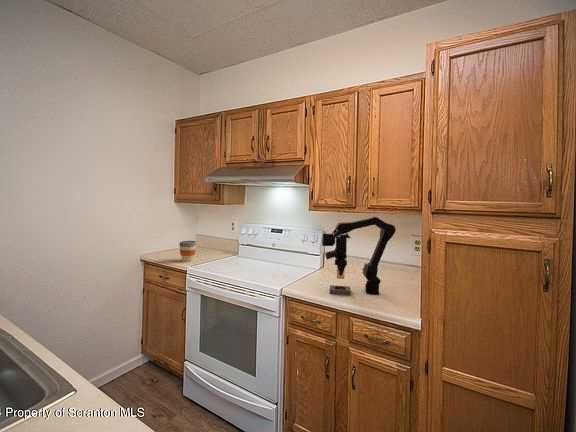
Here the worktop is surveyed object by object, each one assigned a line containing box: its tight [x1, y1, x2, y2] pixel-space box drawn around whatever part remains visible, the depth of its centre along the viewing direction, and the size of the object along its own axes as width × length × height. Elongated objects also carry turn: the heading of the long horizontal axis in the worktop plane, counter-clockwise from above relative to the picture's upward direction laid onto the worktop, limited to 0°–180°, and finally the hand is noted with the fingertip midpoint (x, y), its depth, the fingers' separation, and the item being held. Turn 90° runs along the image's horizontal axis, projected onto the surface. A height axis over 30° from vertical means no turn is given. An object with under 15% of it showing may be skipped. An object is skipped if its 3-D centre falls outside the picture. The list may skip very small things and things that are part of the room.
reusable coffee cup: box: [179, 240, 197, 263], centre depth 227 cm, size 13×13×15 cm
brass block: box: [336, 265, 345, 280], centre depth 157 cm, size 4×4×7 cm
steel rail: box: [329, 284, 351, 296], centre depth 158 cm, size 11×8×2 cm
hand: (340, 274), depth 157 cm, fingers closed on brass block, 4 cm apart
